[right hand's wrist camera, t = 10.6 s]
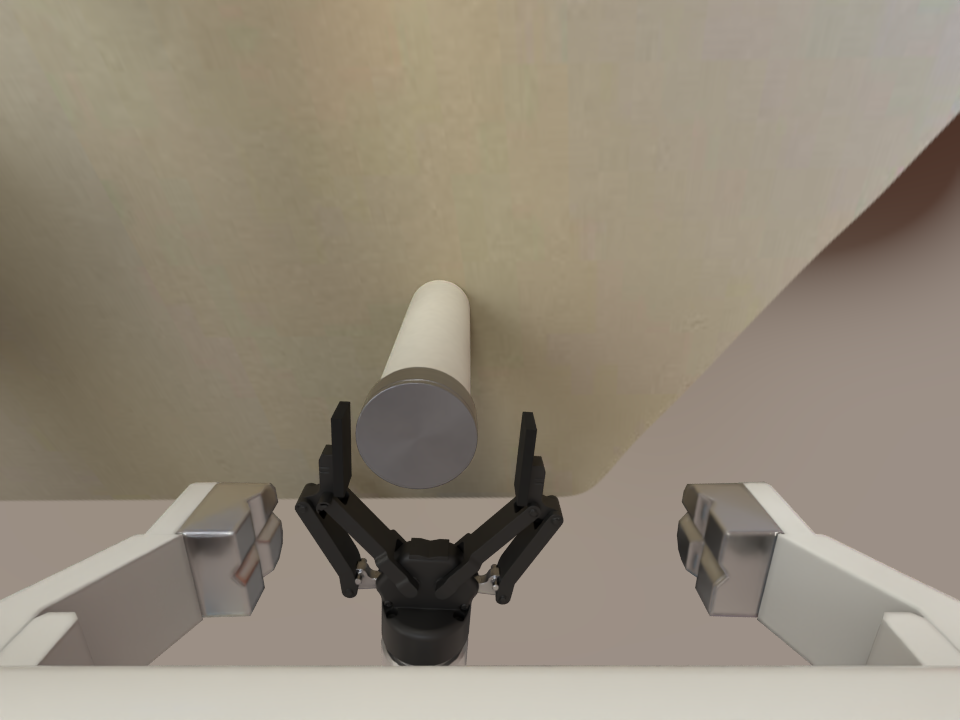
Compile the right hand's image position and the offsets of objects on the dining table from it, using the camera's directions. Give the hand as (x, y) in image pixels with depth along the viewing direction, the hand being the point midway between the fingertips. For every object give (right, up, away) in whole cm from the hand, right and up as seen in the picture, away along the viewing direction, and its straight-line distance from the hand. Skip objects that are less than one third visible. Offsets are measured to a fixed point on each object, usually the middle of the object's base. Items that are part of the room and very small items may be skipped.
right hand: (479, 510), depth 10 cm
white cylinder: (-3, +7, +31) cm, 32 cm away
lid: (-3, 0, +12) cm, 13 cm away
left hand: (-3, -1, +27) cm, 28 cm away
